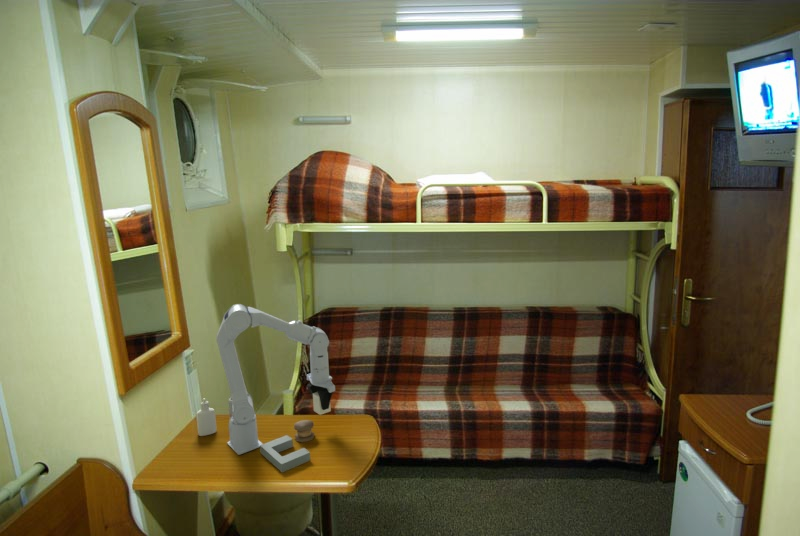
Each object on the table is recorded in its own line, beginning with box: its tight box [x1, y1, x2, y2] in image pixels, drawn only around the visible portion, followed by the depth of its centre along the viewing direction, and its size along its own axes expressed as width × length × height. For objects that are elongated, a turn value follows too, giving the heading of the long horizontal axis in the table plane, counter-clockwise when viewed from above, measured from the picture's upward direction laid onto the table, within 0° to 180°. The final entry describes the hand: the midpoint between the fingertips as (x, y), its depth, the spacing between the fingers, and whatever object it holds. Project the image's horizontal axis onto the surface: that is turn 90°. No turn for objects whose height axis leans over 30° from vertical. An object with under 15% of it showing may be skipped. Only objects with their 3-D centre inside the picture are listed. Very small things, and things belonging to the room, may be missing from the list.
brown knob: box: [293, 419, 315, 443], centre depth 154 cm, size 6×6×4 cm
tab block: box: [312, 392, 332, 416], centre depth 157 cm, size 4×4×6 cm
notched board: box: [259, 434, 311, 473], centre depth 144 cm, size 14×9×2 cm, turn 40°
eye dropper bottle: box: [195, 397, 217, 437], centre depth 159 cm, size 4×6×12 cm
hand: (321, 406), depth 157 cm, fingers closed on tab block, 4 cm apart
